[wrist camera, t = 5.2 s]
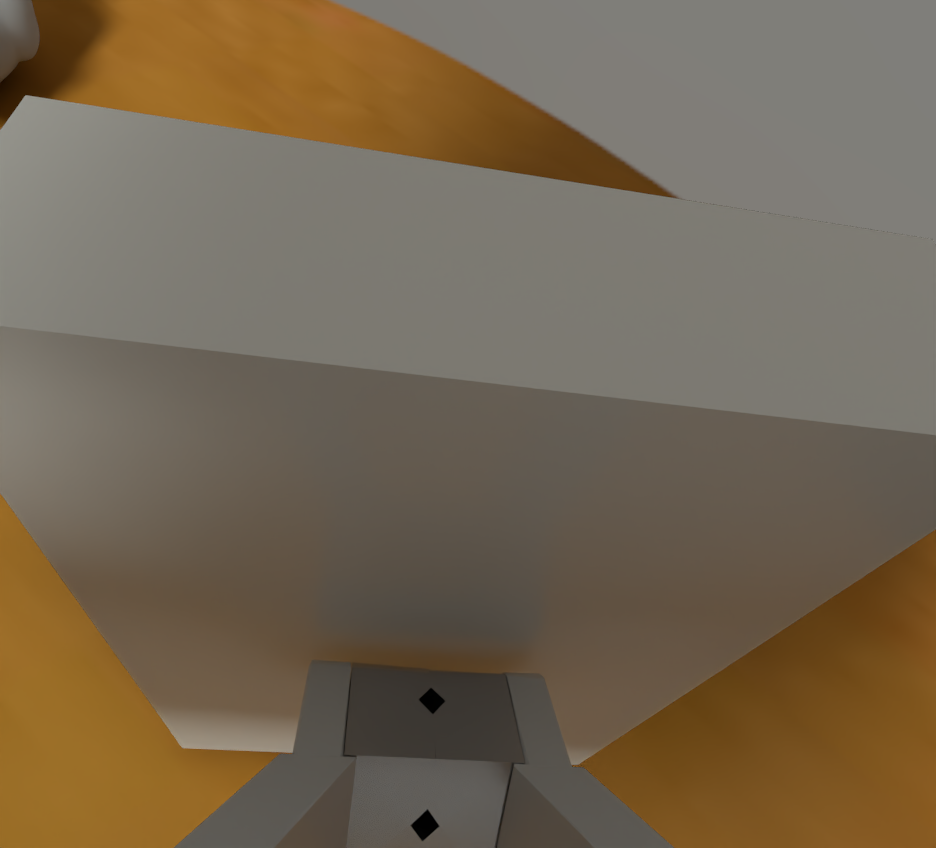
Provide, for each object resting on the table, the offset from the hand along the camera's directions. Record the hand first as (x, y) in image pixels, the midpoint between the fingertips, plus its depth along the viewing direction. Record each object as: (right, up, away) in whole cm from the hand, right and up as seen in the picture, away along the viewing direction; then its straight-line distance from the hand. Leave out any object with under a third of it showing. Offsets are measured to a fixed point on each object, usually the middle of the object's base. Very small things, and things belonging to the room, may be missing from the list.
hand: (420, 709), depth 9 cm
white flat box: (-1, -2, +6) cm, 6 cm away
